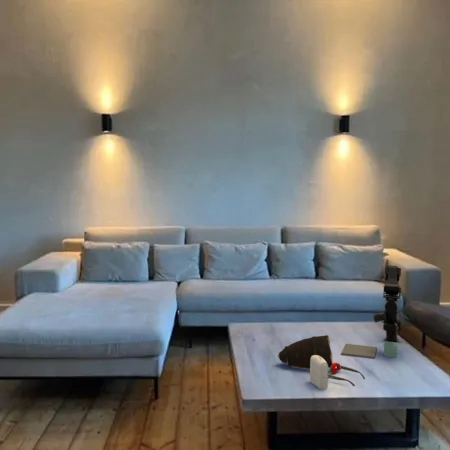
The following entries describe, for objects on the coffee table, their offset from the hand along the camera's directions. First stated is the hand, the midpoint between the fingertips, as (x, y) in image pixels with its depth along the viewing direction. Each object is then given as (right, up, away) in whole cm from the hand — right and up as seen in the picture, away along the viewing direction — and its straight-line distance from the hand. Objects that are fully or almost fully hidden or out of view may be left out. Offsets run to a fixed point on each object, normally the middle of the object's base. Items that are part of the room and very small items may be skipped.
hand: (390, 339), depth 257 cm
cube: (0, -8, +1) cm, 8 cm away
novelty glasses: (-30, -11, -30) cm, 43 cm away
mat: (-14, -8, +6) cm, 17 cm away
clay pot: (-44, -10, -14) cm, 48 cm away
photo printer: (-42, -12, -37) cm, 57 cm away
